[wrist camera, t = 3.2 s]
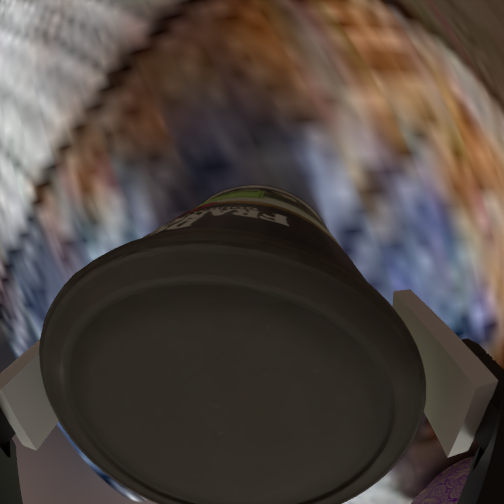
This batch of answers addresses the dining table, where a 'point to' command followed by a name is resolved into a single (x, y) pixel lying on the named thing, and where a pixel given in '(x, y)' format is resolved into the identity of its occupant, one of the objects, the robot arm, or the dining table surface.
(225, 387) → the coffee can
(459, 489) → the bowl of food
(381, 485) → the dining table surface
